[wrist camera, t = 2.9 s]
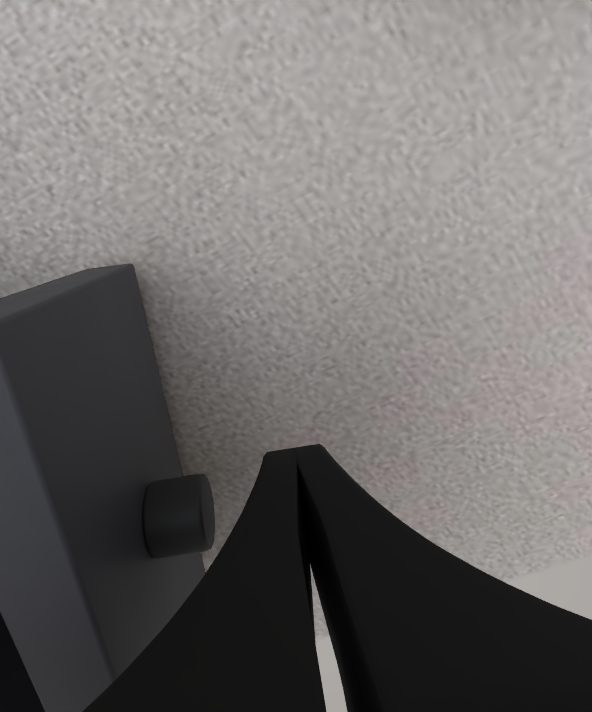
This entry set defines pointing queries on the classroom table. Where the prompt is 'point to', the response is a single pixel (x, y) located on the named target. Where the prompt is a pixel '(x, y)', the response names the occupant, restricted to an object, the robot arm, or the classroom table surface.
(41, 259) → the classroom table surface
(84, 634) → the drawer
